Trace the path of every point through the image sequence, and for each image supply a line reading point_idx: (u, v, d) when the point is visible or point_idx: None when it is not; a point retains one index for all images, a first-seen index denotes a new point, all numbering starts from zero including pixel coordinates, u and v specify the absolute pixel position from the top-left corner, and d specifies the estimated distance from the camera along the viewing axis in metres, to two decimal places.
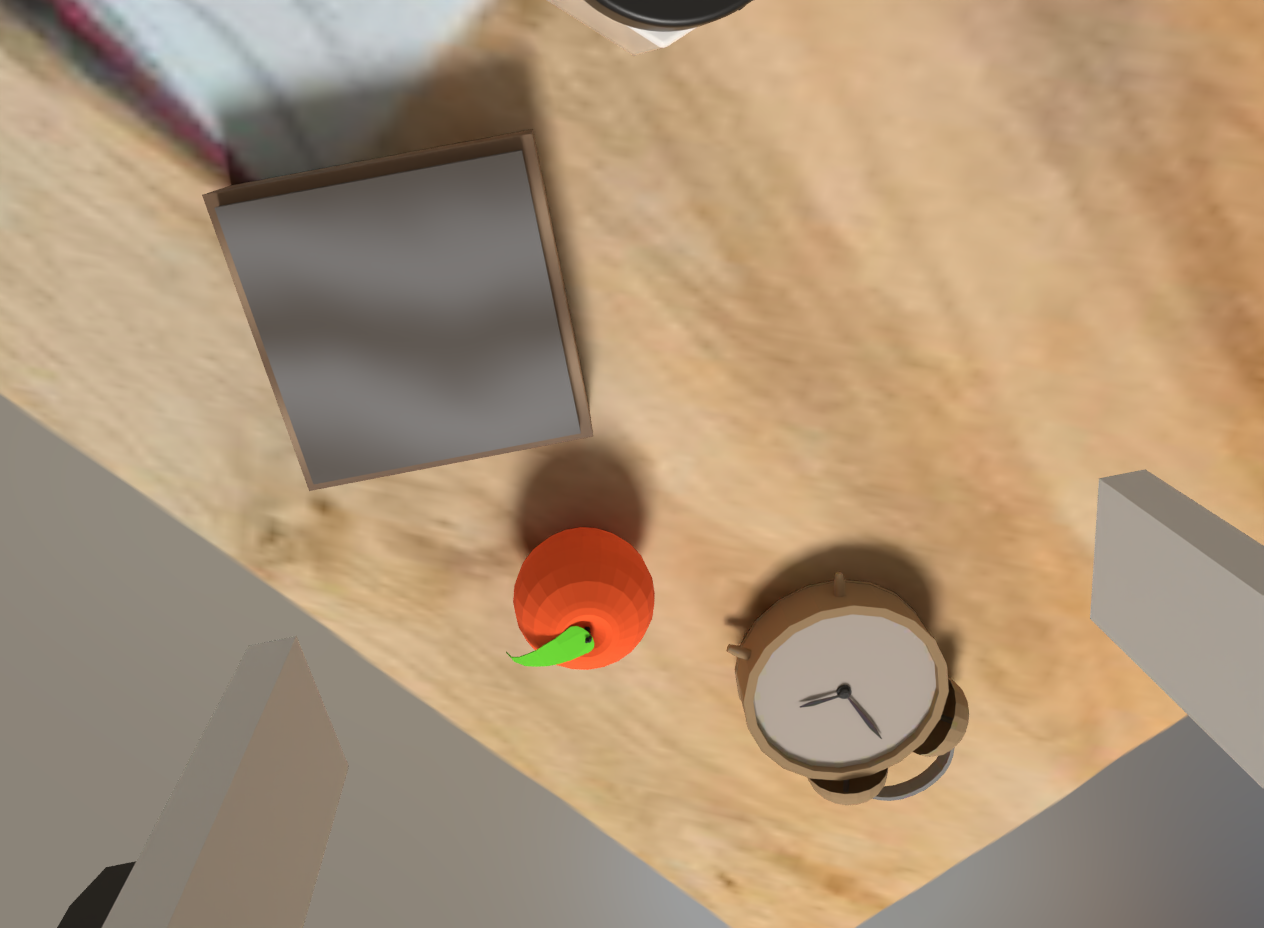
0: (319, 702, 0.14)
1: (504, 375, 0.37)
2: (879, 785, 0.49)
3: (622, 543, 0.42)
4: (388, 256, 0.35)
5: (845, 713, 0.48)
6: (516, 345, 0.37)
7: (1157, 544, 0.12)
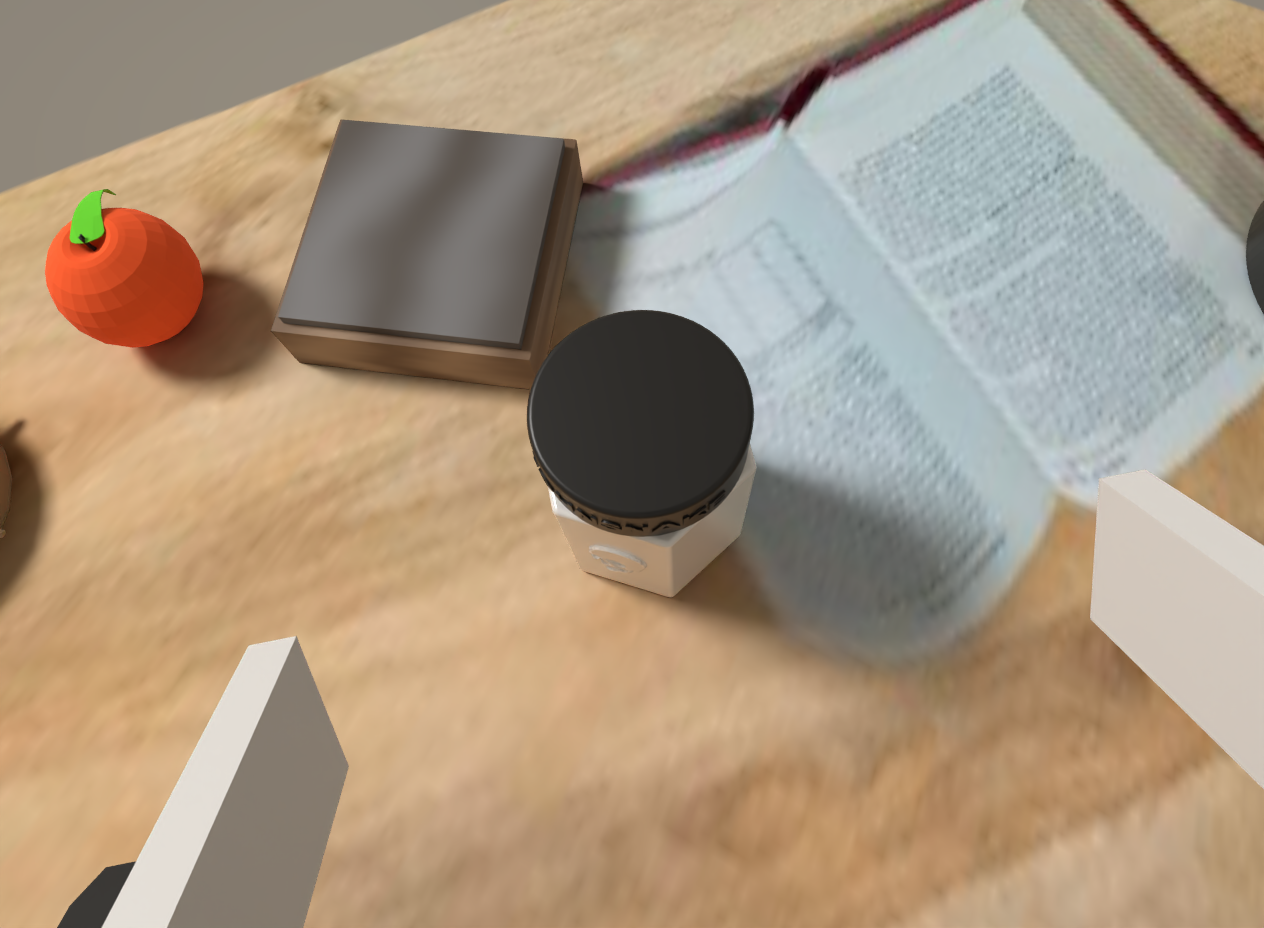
0: (319, 702, 0.14)
1: (356, 276, 0.43)
2: None
3: (159, 326, 0.43)
4: (484, 229, 0.43)
5: None
6: (375, 292, 0.42)
7: (1157, 544, 0.12)
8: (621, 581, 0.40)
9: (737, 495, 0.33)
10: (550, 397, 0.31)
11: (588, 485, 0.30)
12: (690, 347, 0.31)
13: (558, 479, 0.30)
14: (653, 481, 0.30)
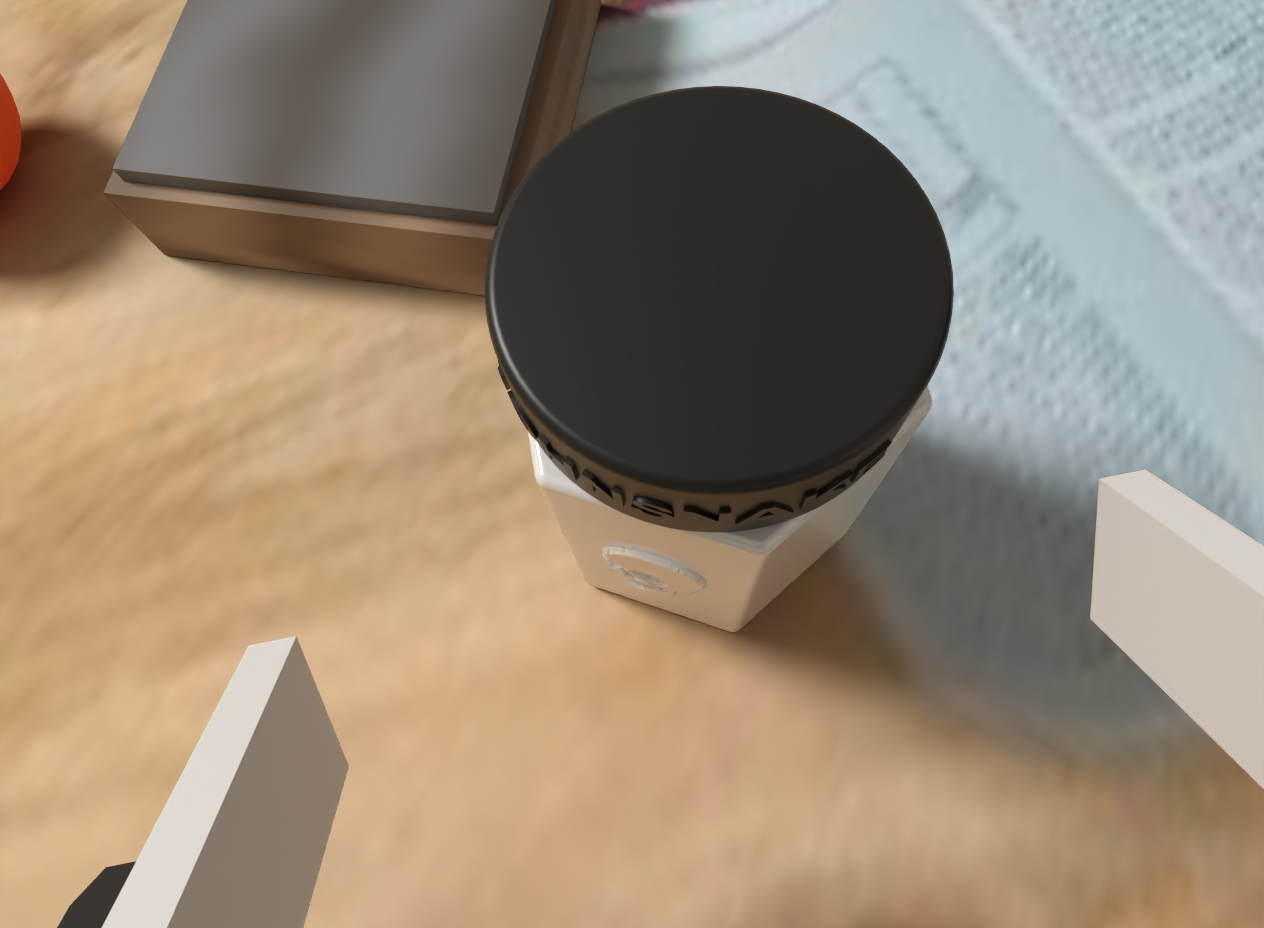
0: (320, 703, 0.14)
1: (240, 109, 0.27)
2: None
3: None
4: (445, 41, 0.27)
5: None
6: (269, 133, 0.26)
7: (1158, 545, 0.12)
8: (653, 604, 0.24)
9: (886, 458, 0.18)
10: (533, 245, 0.15)
11: (608, 421, 0.14)
12: (818, 153, 0.16)
13: (545, 408, 0.14)
14: (747, 415, 0.14)
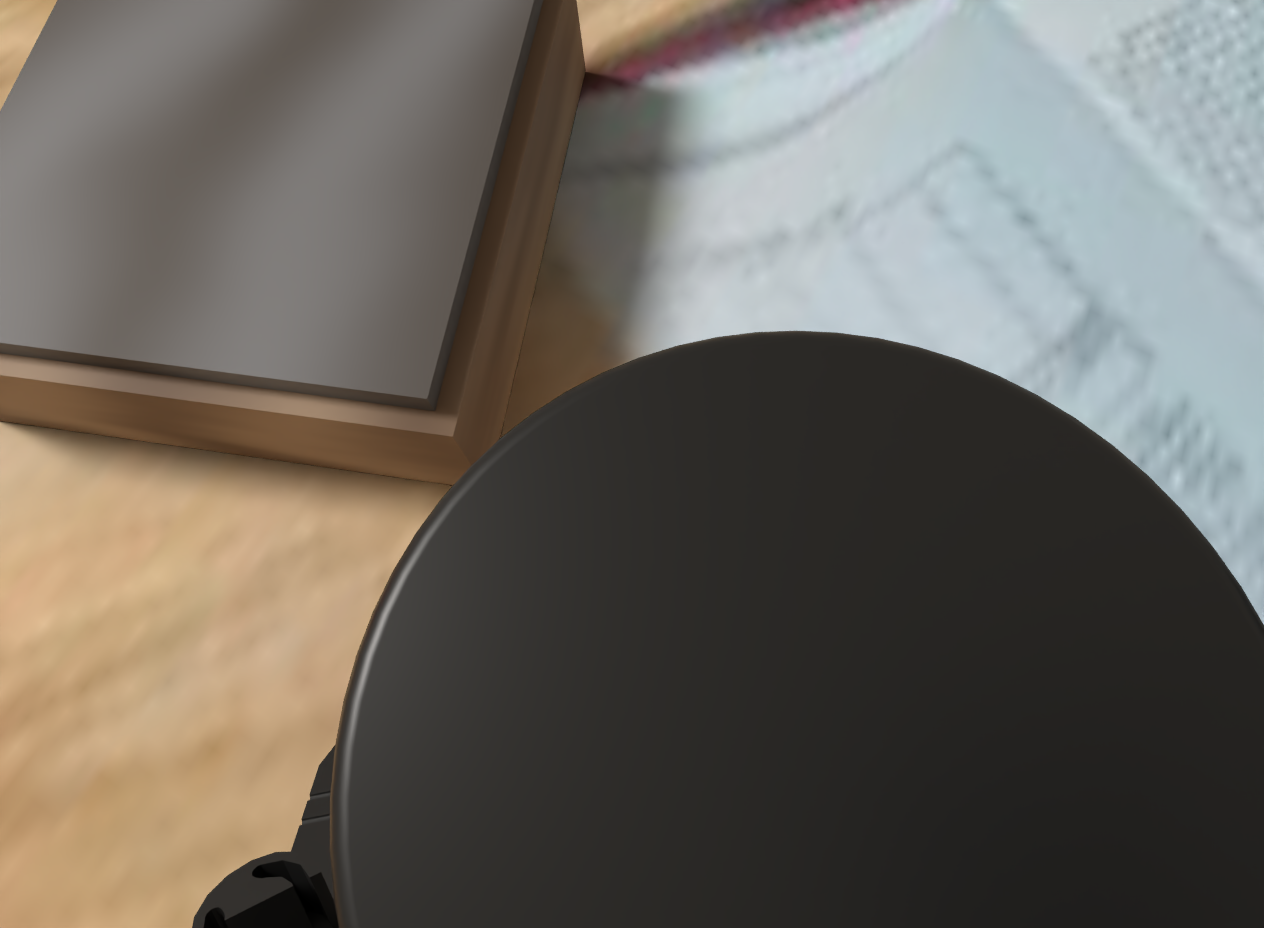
0: None
1: (76, 238, 0.19)
2: None
3: None
4: (365, 140, 0.20)
5: None
6: (113, 275, 0.19)
7: None
8: None
9: None
10: (433, 697, 0.07)
11: None
12: (1010, 487, 0.08)
13: None
14: None
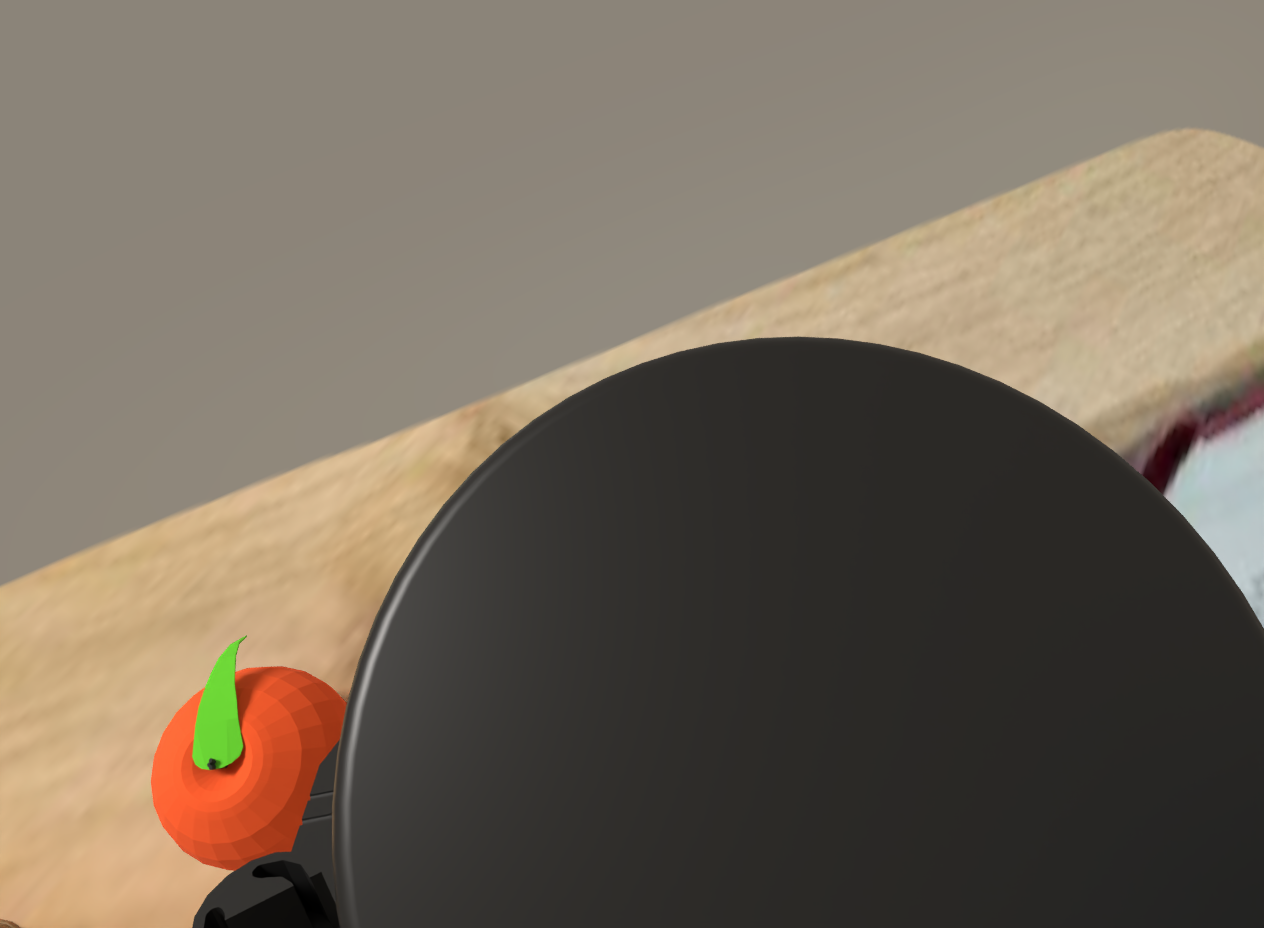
0: None
1: None
2: None
3: None
4: None
5: None
6: None
7: None
8: None
9: None
10: (435, 704, 0.07)
11: None
12: (1012, 494, 0.08)
13: None
14: None
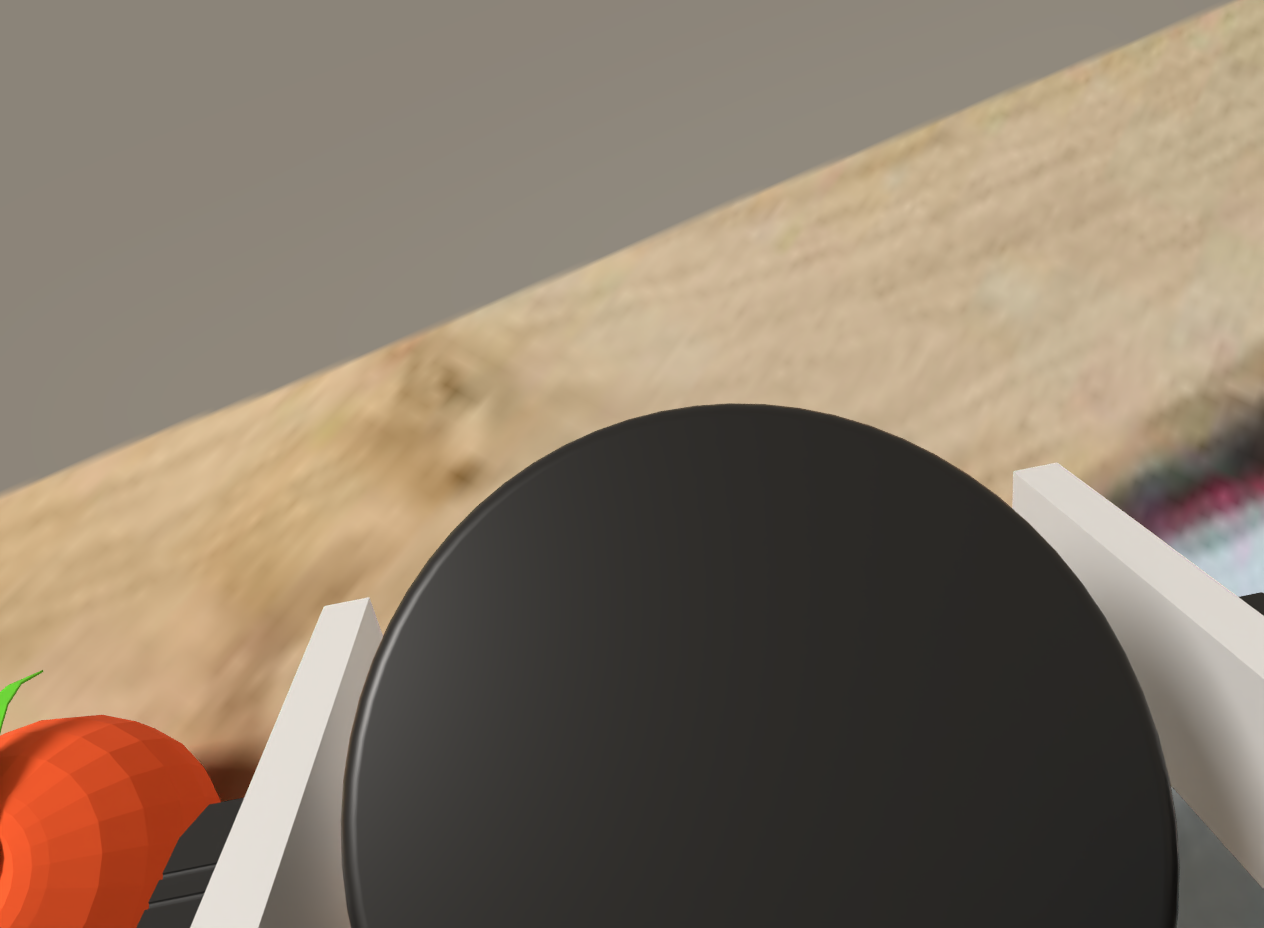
0: None
1: None
2: None
3: None
4: None
5: None
6: None
7: (1061, 533, 0.13)
8: None
9: None
10: (425, 734, 0.09)
11: None
12: (911, 537, 0.09)
13: None
14: None
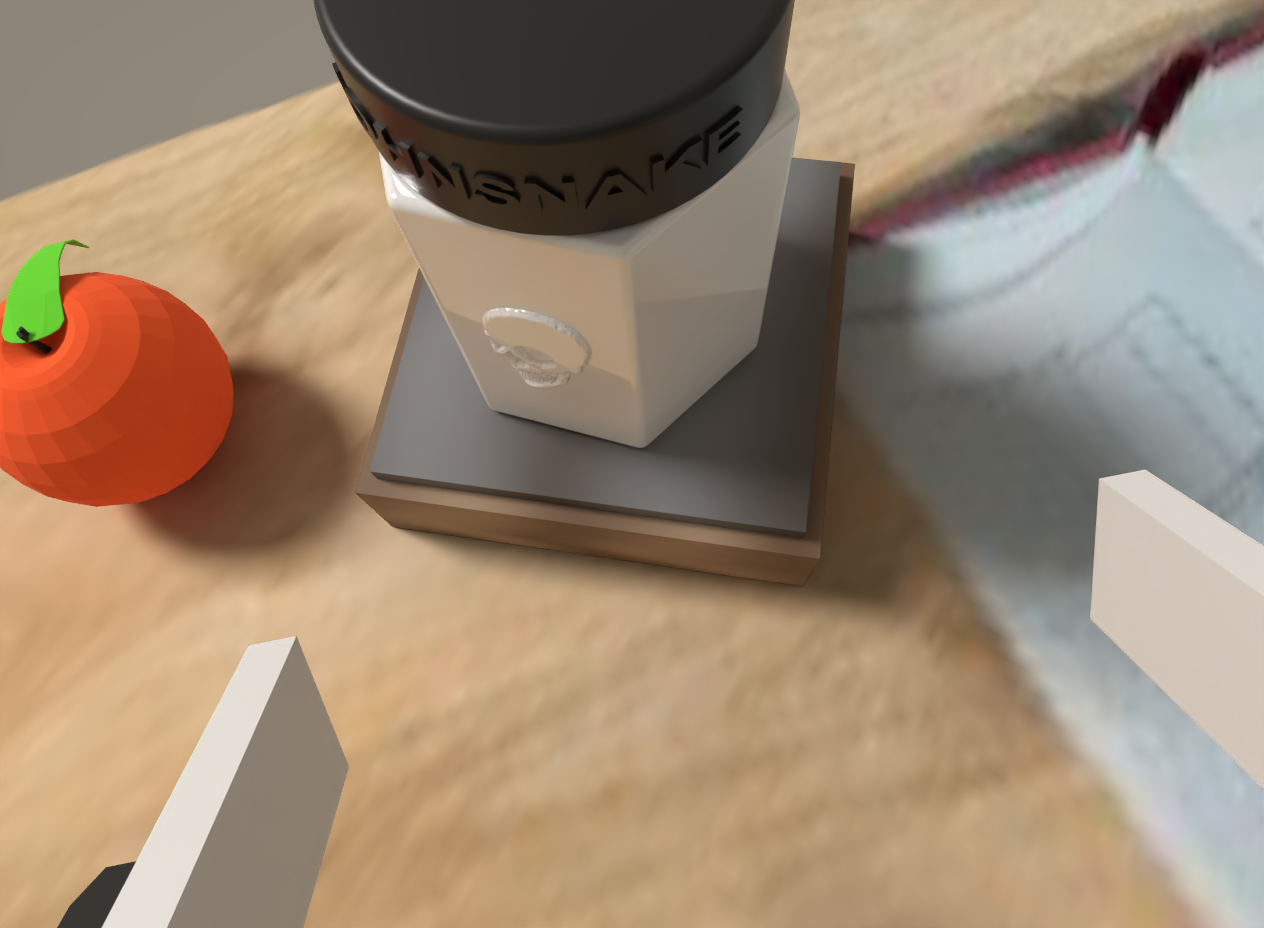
0: (320, 702, 0.14)
1: None
2: None
3: (161, 476, 0.25)
4: None
5: None
6: (540, 429, 0.24)
7: (1157, 544, 0.12)
8: (557, 422, 0.24)
9: (761, 185, 0.17)
10: None
11: (435, 80, 0.13)
12: None
13: (369, 71, 0.13)
14: (581, 66, 0.13)
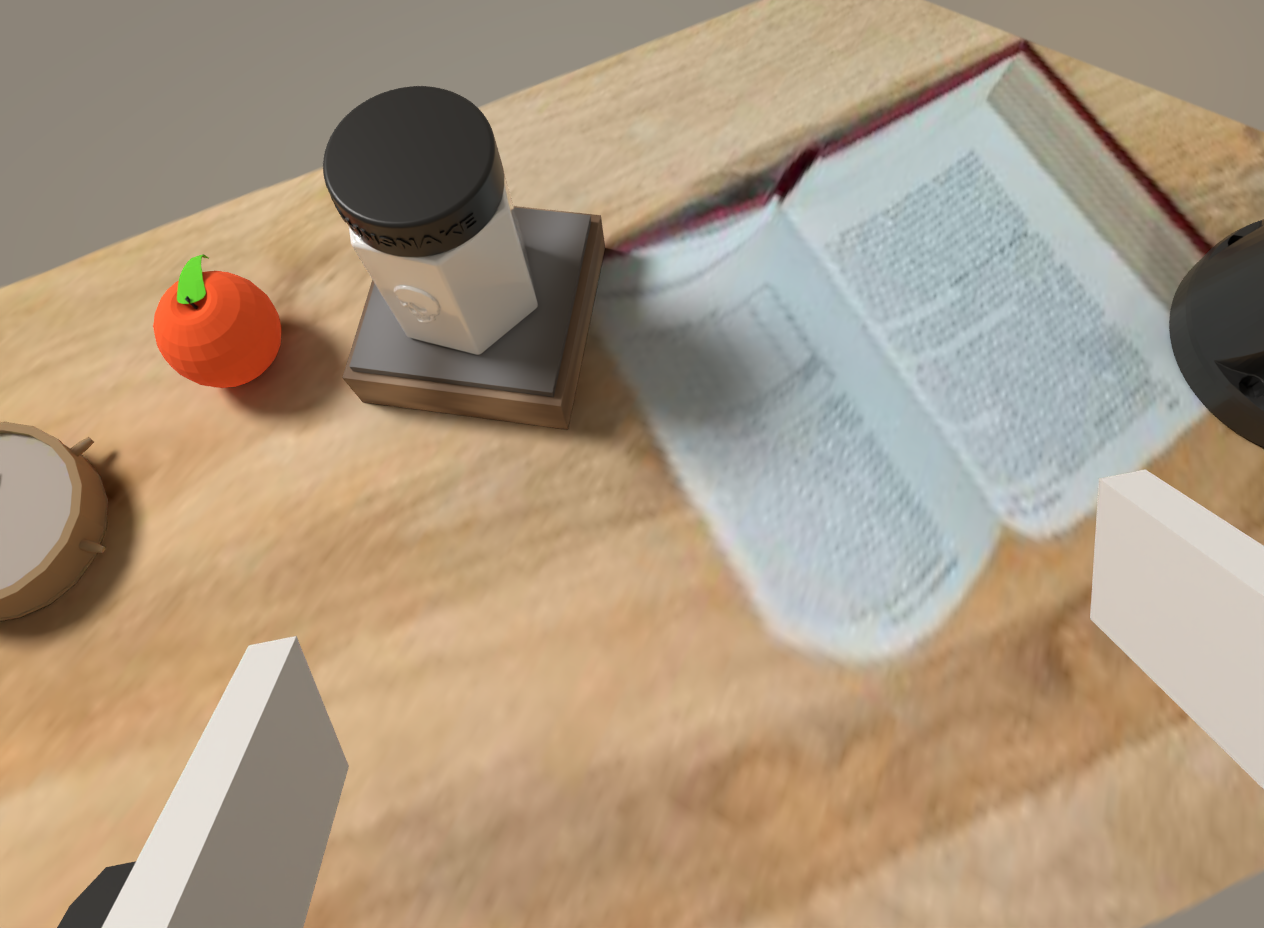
0: (320, 703, 0.14)
1: None
2: None
3: (247, 371, 0.51)
4: None
5: None
6: (431, 346, 0.50)
7: (1159, 545, 0.12)
8: (438, 342, 0.50)
9: (500, 236, 0.43)
10: (341, 147, 0.40)
11: (364, 206, 0.39)
12: (450, 110, 0.41)
13: (342, 202, 0.39)
14: (413, 201, 0.39)
